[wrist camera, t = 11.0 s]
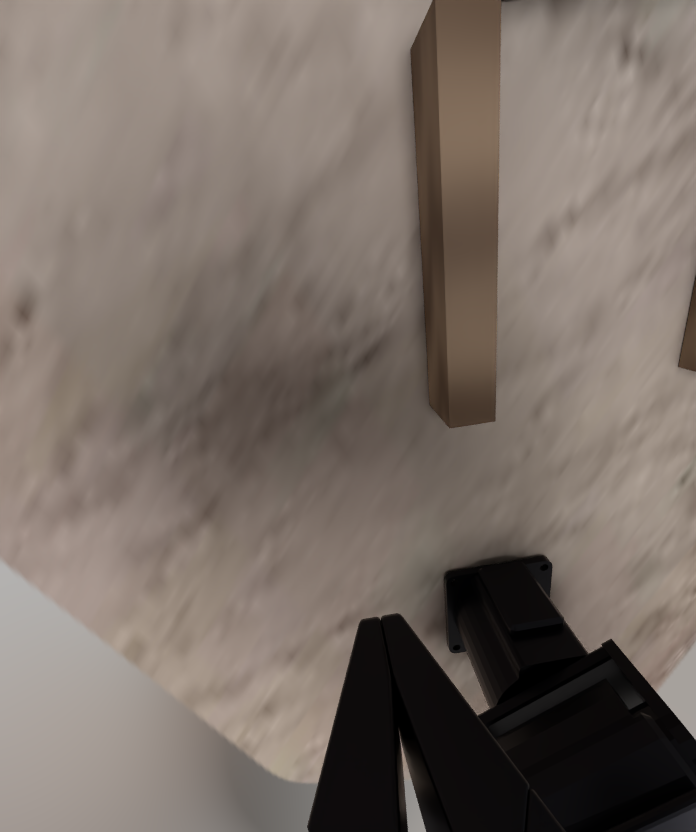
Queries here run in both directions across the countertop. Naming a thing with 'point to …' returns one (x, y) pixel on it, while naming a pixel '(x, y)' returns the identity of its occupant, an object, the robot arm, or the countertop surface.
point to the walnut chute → (465, 205)
